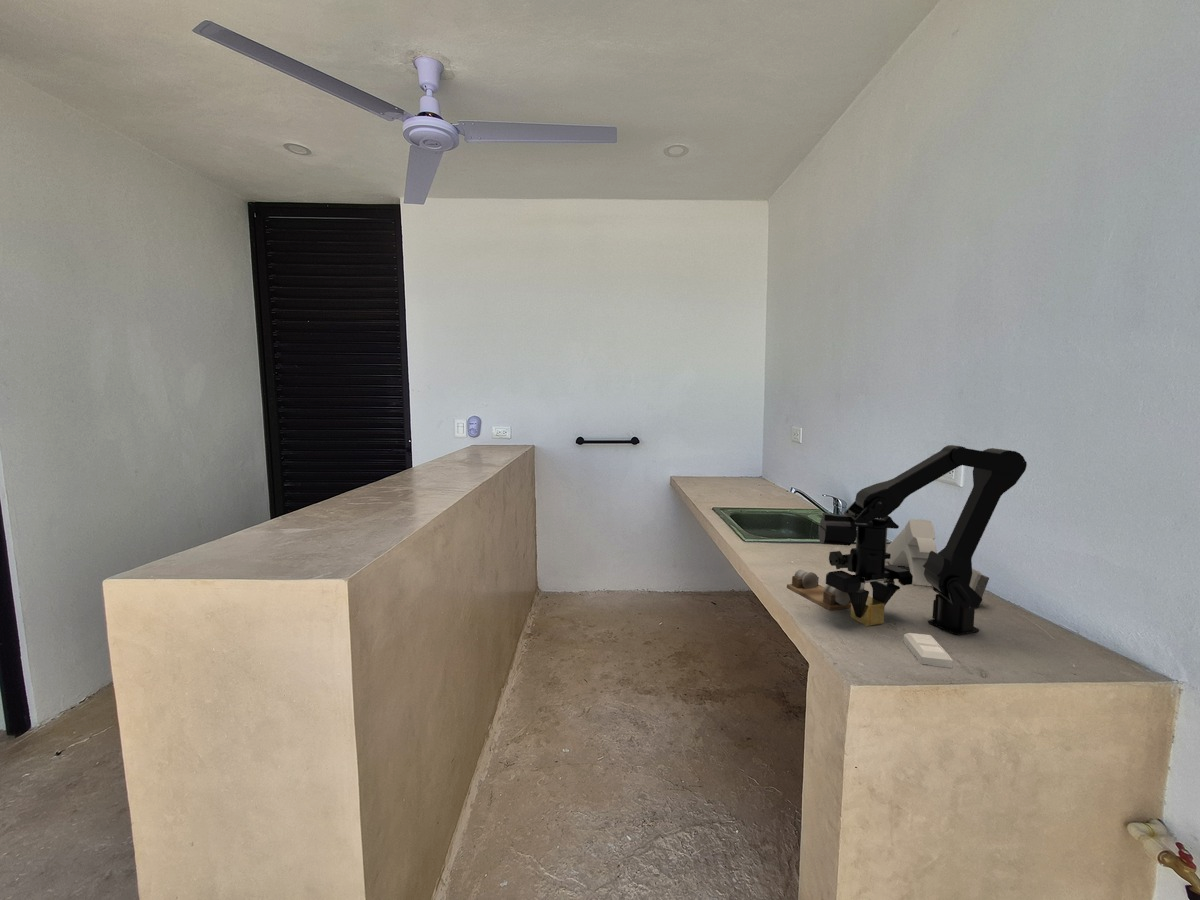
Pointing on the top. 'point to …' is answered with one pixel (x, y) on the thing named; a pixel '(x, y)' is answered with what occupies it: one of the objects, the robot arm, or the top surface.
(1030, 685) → the top surface
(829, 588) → the pipe cradle
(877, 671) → the top surface
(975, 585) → the electrical switch
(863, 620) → the yellow hollow block
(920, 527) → the beige angular piece
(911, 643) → the soap bar
